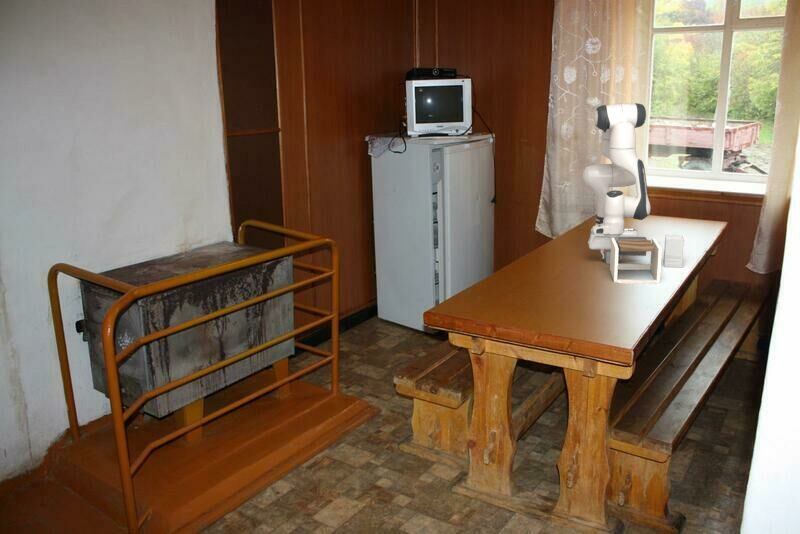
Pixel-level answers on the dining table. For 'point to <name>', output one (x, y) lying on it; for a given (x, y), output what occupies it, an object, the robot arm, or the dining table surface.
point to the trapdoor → (634, 246)
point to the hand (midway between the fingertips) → (611, 258)
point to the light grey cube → (608, 256)
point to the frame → (653, 266)
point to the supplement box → (673, 250)
